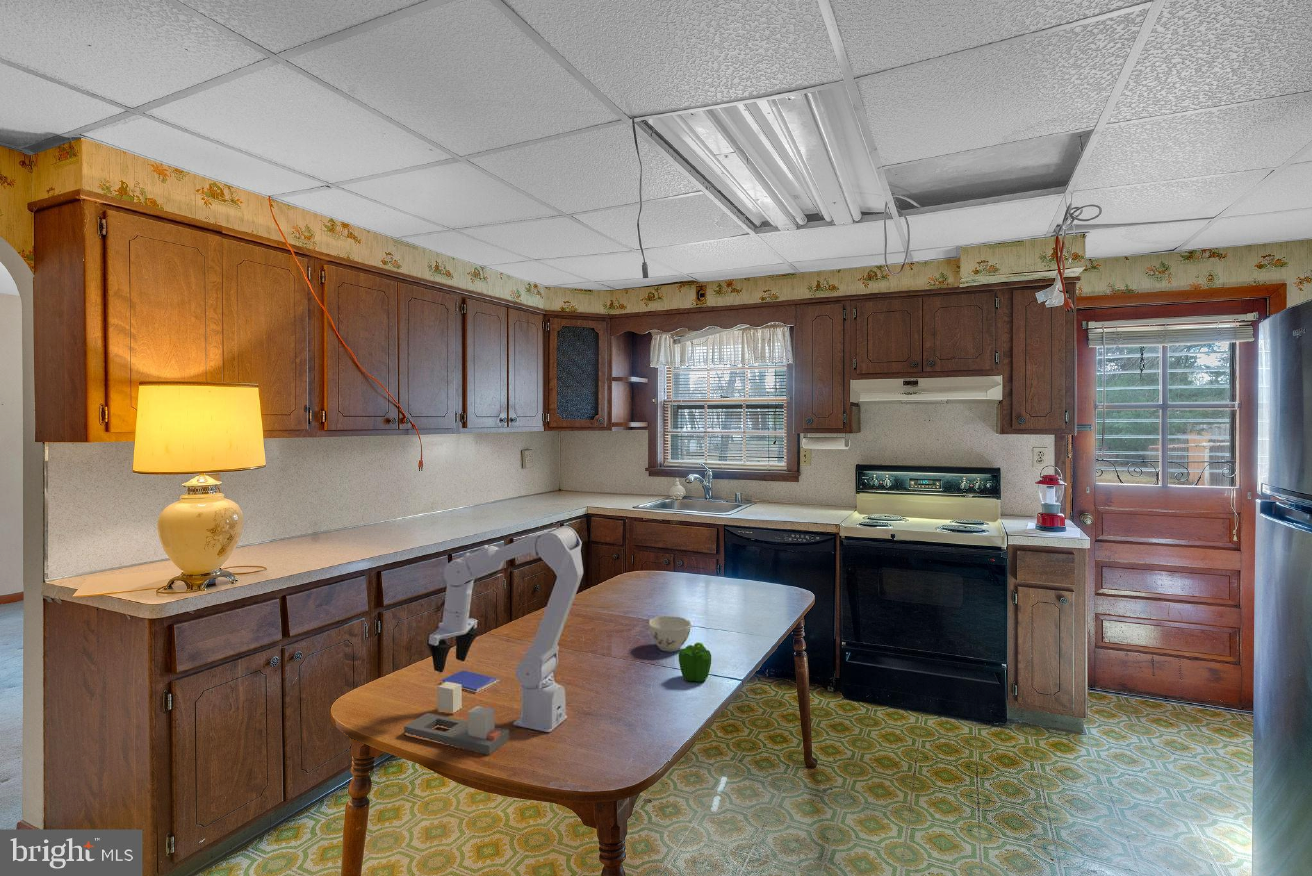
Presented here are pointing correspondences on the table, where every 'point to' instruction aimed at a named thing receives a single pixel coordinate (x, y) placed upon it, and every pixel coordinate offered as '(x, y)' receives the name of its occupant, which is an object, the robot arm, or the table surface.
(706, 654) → the bell pepper
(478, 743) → the slotted gray plate
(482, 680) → the blue book
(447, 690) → the plug
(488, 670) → the table surface
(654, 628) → the teacup
